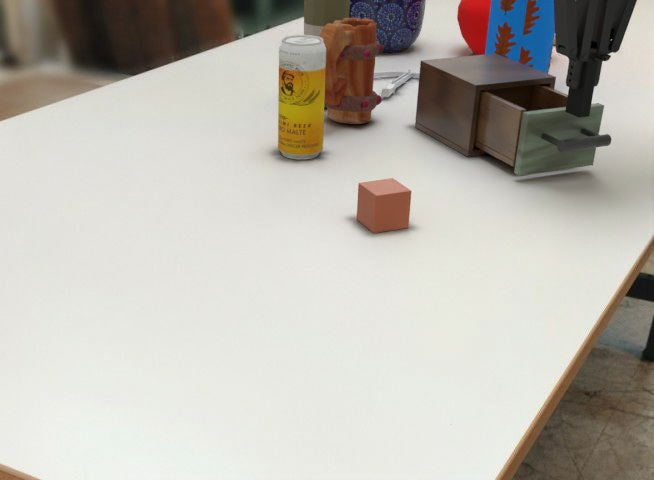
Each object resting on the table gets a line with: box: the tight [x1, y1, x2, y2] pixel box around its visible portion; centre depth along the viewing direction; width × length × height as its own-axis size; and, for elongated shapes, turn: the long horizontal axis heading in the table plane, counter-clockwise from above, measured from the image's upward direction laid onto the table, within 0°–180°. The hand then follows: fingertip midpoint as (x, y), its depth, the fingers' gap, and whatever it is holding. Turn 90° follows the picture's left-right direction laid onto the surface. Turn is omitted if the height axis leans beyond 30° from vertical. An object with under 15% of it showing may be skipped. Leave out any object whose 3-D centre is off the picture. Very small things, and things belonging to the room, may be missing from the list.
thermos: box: [485, 0, 555, 74], centre depth 152 cm, size 11×11×25 cm
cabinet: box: [414, 53, 557, 158], centre depth 132 cm, size 15×13×10 cm
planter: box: [349, 0, 427, 54], centre depth 179 cm, size 17×17×15 cm
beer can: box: [277, 34, 326, 161], centre depth 123 cm, size 6×6×15 cm
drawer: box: [474, 84, 612, 177], centre depth 121 cm, size 18×11×8 cm, turn 22°
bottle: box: [303, 0, 350, 109], centre depth 140 cm, size 7×7×30 cm
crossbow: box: [374, 69, 420, 98], centre depth 157 cm, size 16×13×2 cm
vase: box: [456, 0, 491, 55], centre depth 173 cm, size 18×18×19 cm
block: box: [356, 177, 412, 234], centre depth 105 cm, size 4×4×4 cm
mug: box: [320, 18, 384, 125], centre depth 135 cm, size 15×8×15 cm, turn 149°
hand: (577, 113), depth 114 cm, fingers closed
